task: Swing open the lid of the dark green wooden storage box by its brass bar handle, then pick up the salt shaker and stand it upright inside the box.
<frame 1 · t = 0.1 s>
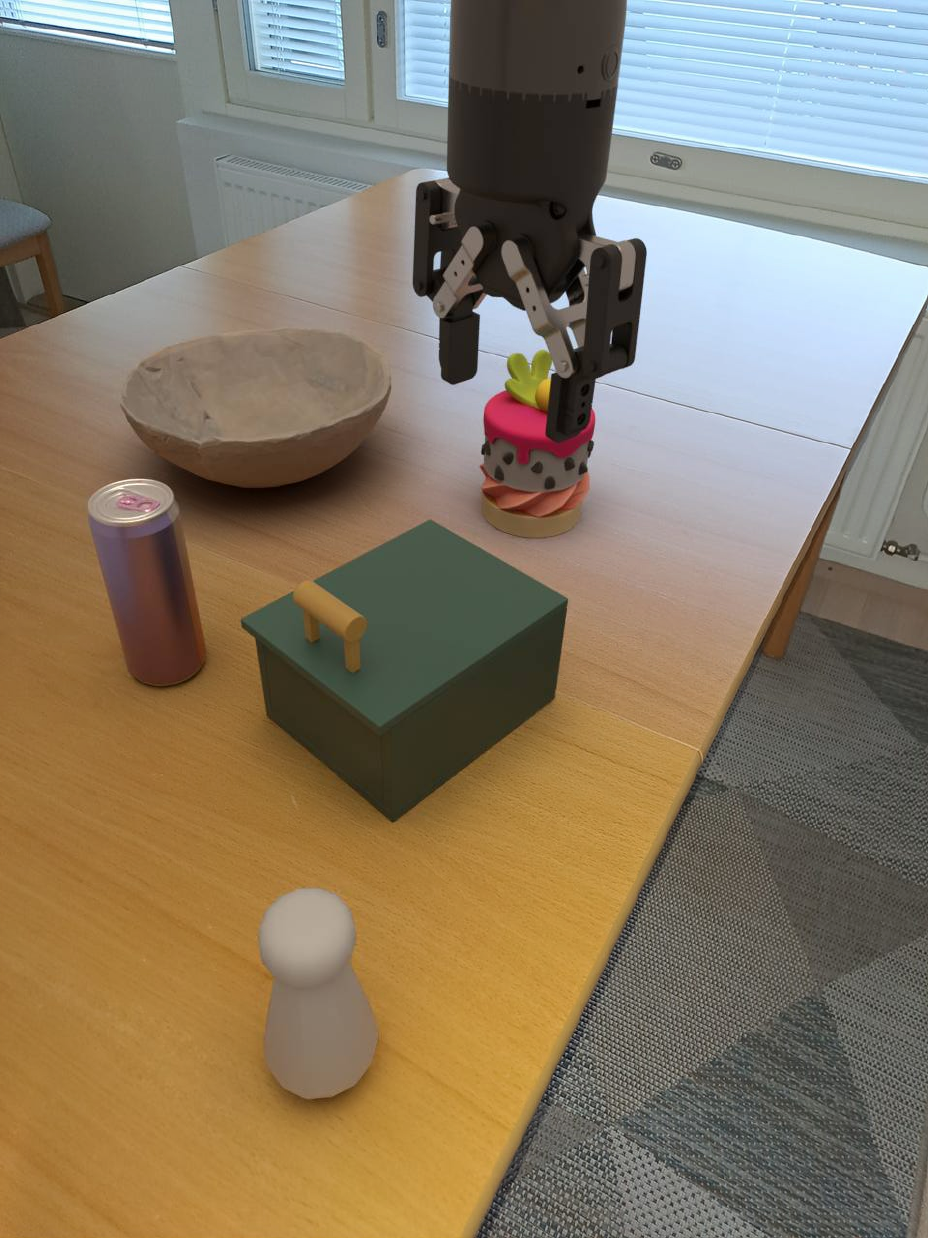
hand: (509, 407, 51), 26 cm above the table, tool pointing down, fingers open, 8 cm apart
beverage can: (168, 665, 71), on the table
chest: (413, 706, 69), on the table
cake: (530, 511, 90), on the table
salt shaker: (324, 1061, 48), on the table
lid: (408, 587, 61), point 12 cm above the table, hinge at 0.0°
bowl: (267, 465, 95), on the table
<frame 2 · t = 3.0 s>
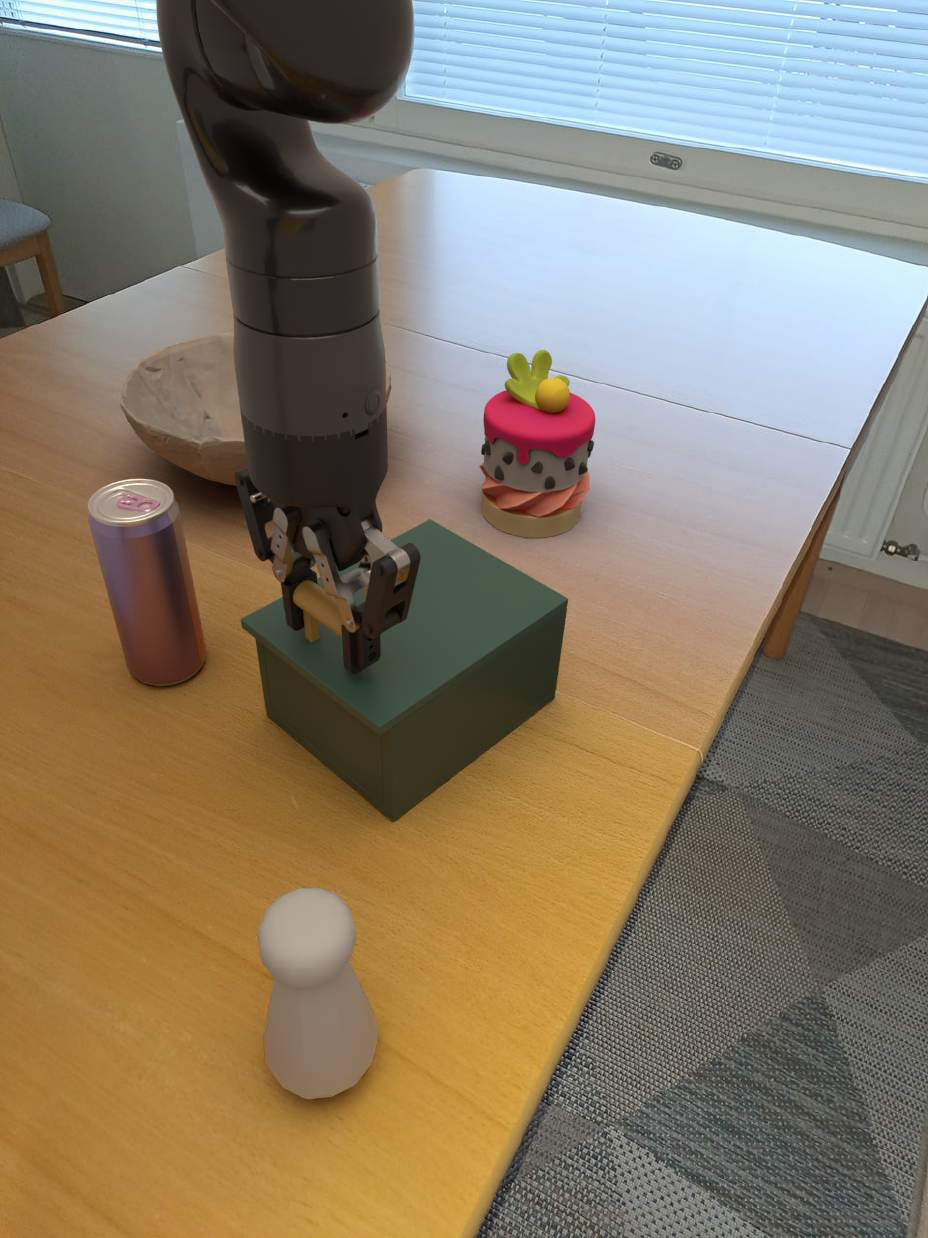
hand: (332, 643, 58), 11 cm above the table, tool pointing down, fingers closed on lid, 5 cm apart
lid: (408, 587, 61), point 12 cm above the table, hinge at 0.0°, touching gripper
everything else where it was.
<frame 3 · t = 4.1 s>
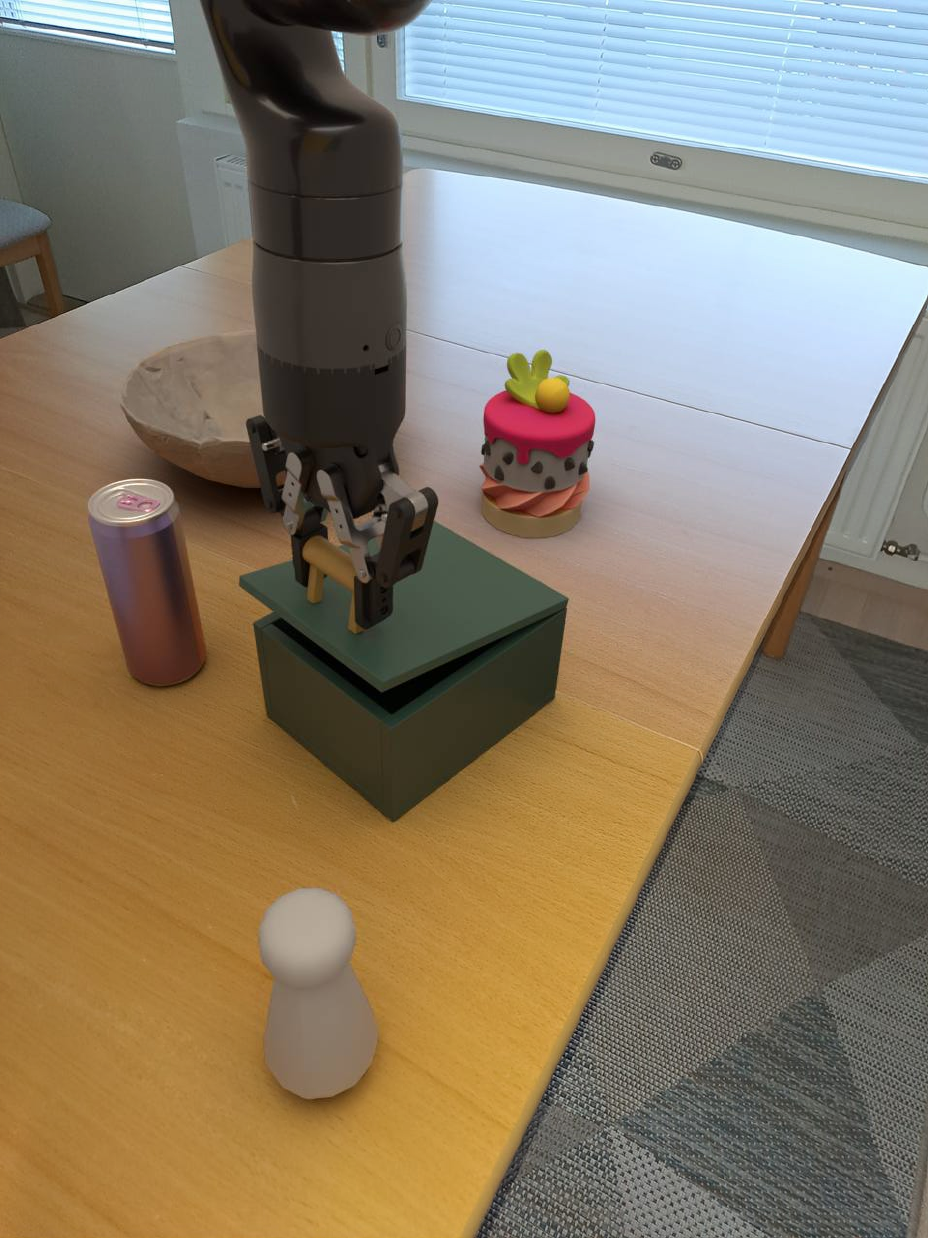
hand: (342, 599, 56), 14 cm above the table, tool pointing down, fingers closed on lid, 5 cm apart
lid: (414, 563, 60), point 13 cm above the table, hinge at 11.1°, touching gripper
everything else where it was.
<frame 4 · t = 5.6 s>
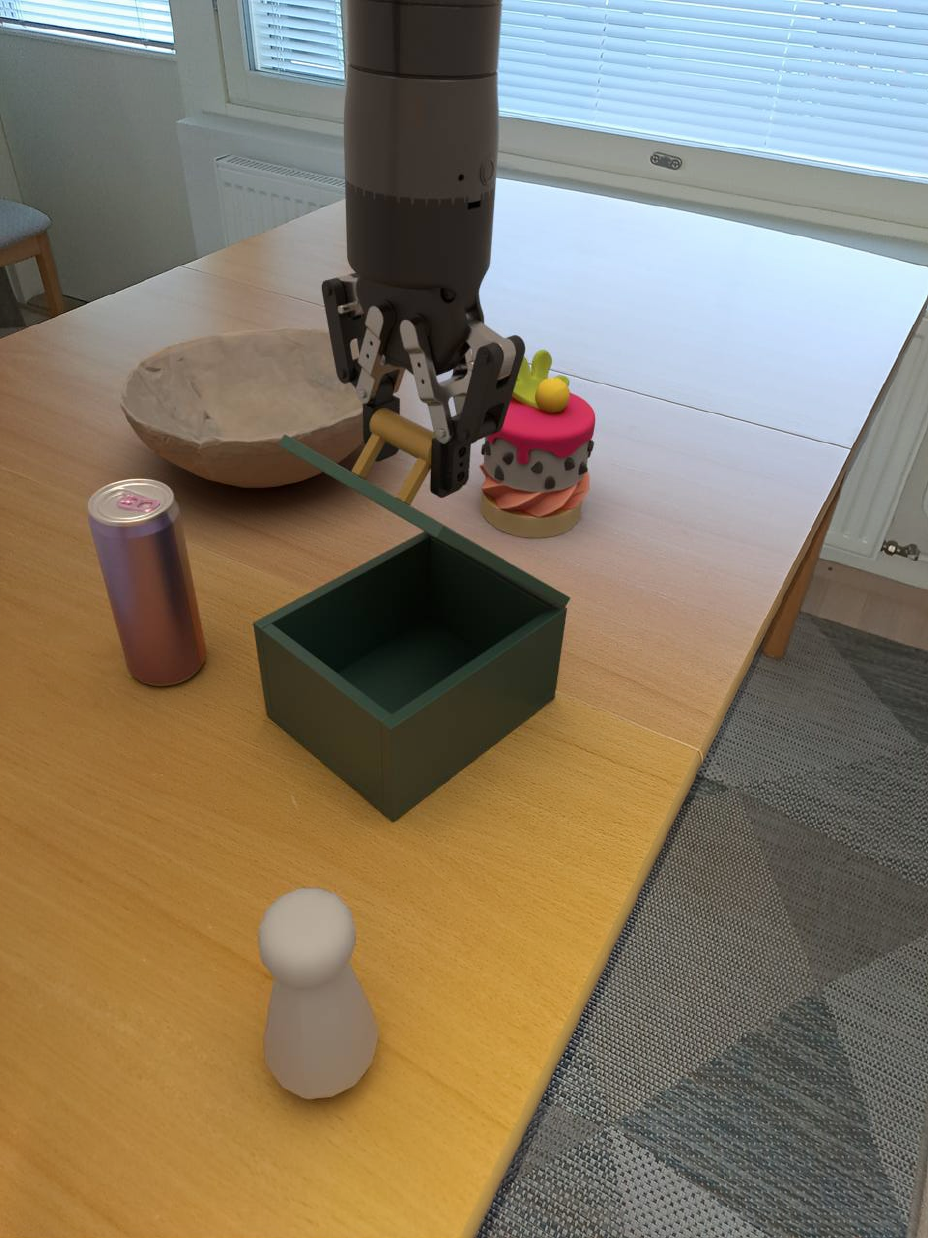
hand: (414, 472, 56), 20 cm above the table, tool pointing down, fingers closed on lid, 5 cm apart
lid: (450, 497, 60), point 17 cm above the table, hinge at 42.7°, touching gripper
everything else where it was.
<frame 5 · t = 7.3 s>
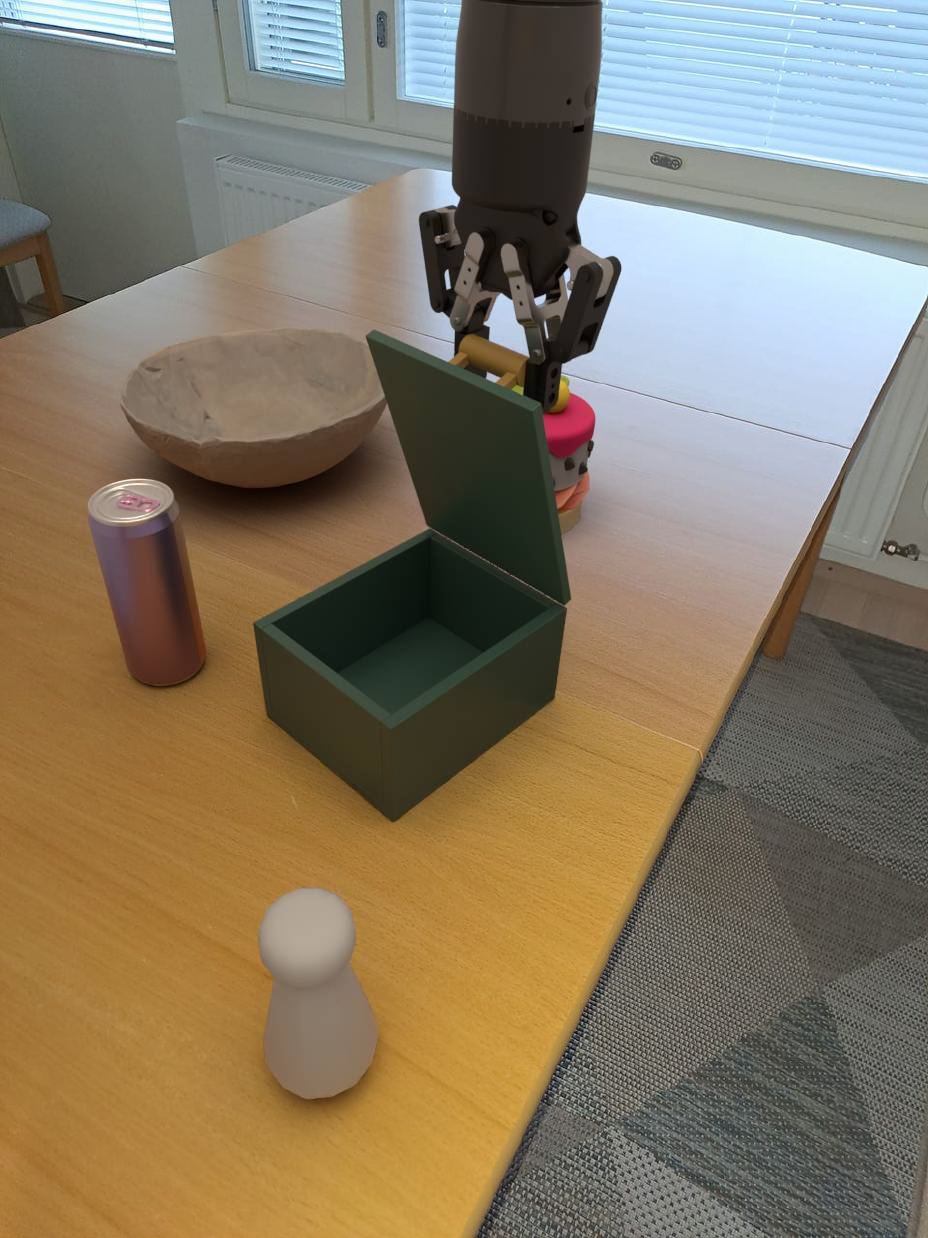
hand: (503, 397, 59), 23 cm above the table, tool pointing down, fingers closed on lid, 5 cm apart
lid: (496, 455, 61), point 18 cm above the table, hinge at 71.5°, touching gripper
everything else where it was.
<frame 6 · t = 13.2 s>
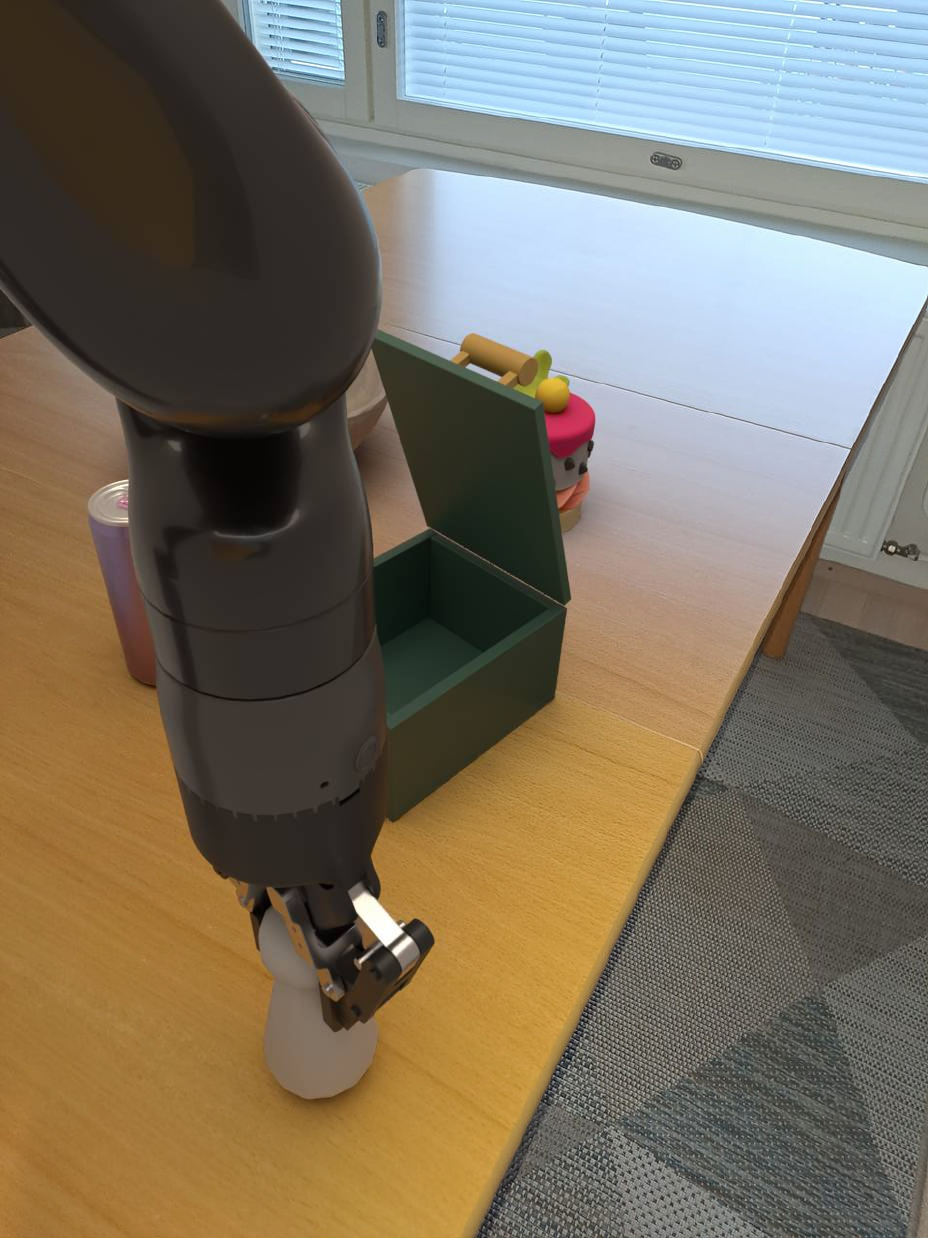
hand: (313, 977, 43), 8 cm above the table, tool pointing down, fingers closed on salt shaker, 4 cm apart
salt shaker: (324, 1061, 48), on the table, touching gripper
lid: (496, 454, 61), point 18 cm above the table, hinge at 72.0°
everything else where it was.
when the fingers open (9 cm above the table, at t = 21.4 s): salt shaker stays where it is, resting on chest.
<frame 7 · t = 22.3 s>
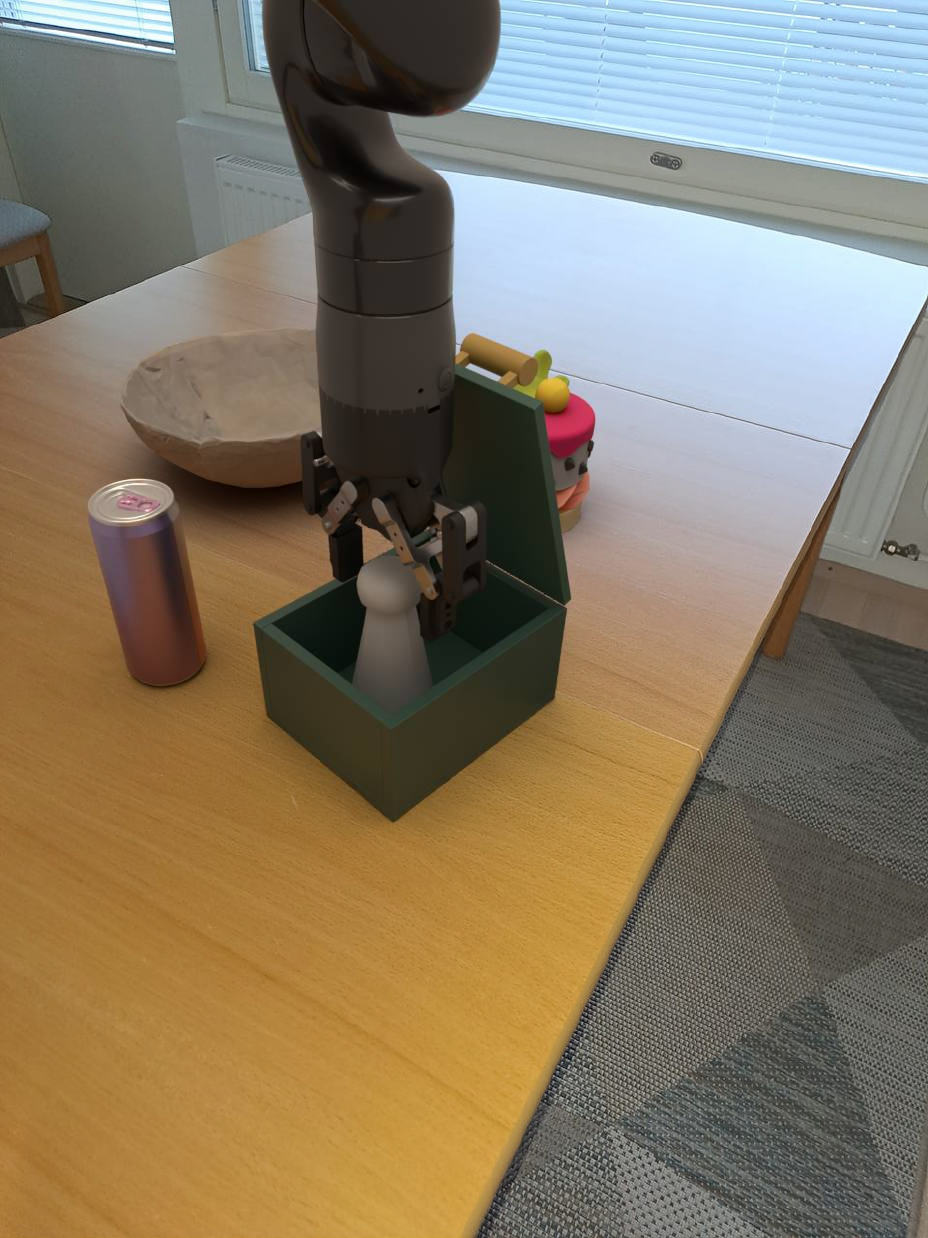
hand: (390, 604, 60), 11 cm above the table, tool pointing down, fingers open, 8 cm apart
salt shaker: (392, 713, 67), point 1 cm above the table, touching chest
everything else where it was.
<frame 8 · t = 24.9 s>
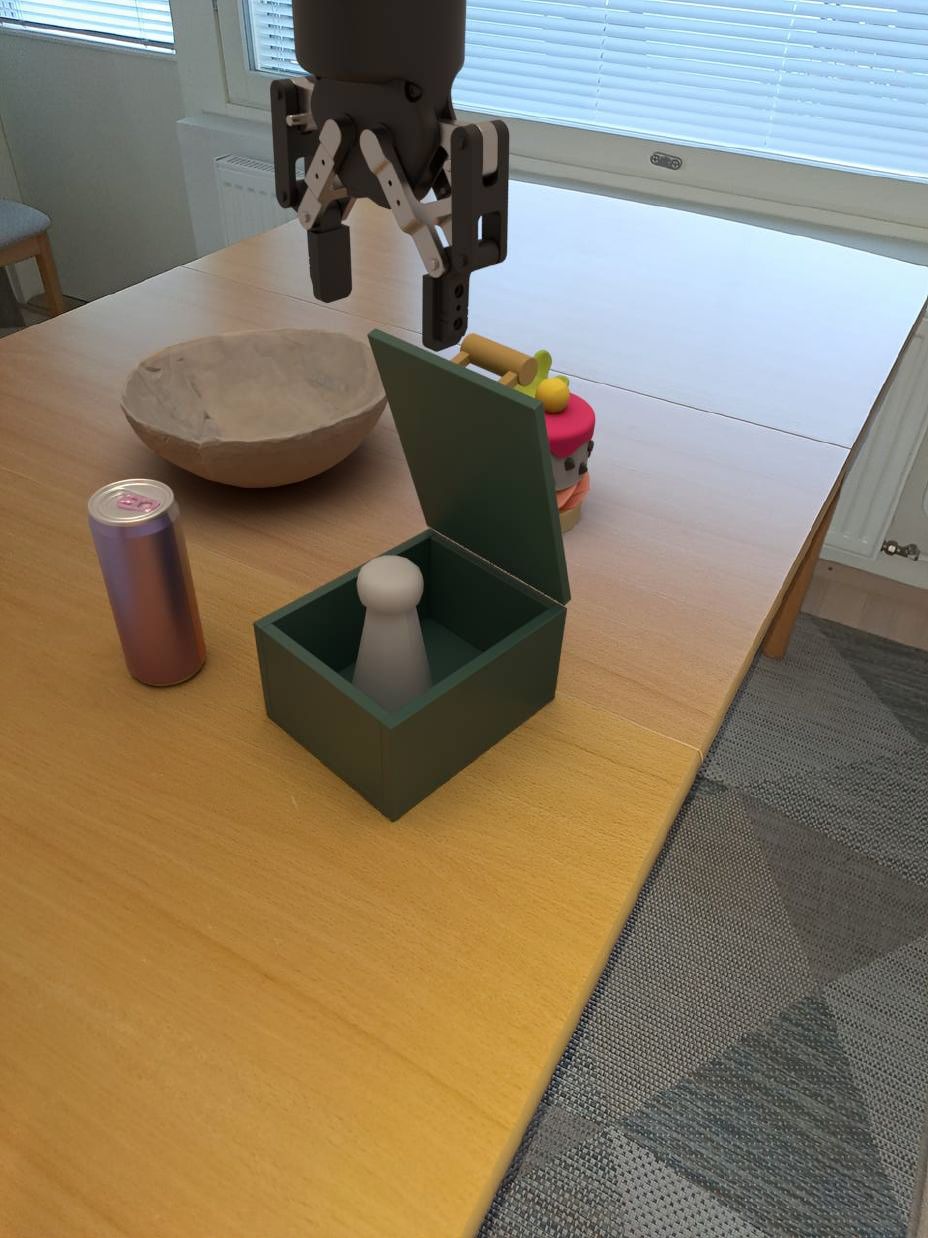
hand: (385, 321, 48), 30 cm above the table, tool pointing down, fingers open, 8 cm apart
nothing on the table moved.
at the end: lid at +72° (first picture: +0°); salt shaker inside the target area in the chest (2.1 cm from its centre), point 0.7 cm above the chest's base; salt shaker tilted 0° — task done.
